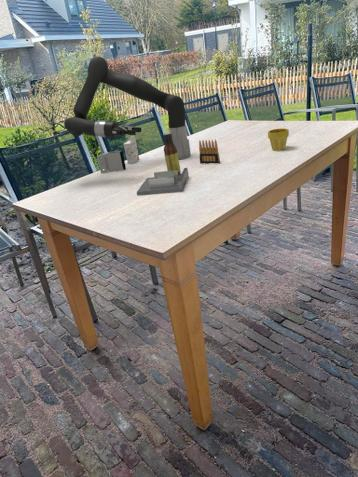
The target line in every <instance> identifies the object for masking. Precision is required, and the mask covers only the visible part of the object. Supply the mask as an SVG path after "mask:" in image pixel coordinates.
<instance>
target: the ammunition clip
mask: <svg viewBox="0 0 358 477" xmlns="http://www.w3.org/2000/svg"><path fill="white" fill-rule="evenodd" d="M198 144H199V145H198V147H199V148H198V150H199V151H198V152H199V163H200V164H204V163H205V164H209V163H219V164H220V163H221V160H220V158H221V157H220V153H219V146H218V142H217V140H216V139H214V140H213V139H211V141H210V139H208V140H207V139H205V141H204V139H202V141H201V140H200V139H199V140H198ZM205 164H204V165H205ZM209 165H210V164H209Z"/></svg>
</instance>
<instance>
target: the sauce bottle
mask: <svg viewBox="0 0 358 477" xmlns="http://www.w3.org/2000/svg"><path fill="white" fill-rule="evenodd" d="M162 136H163V140H164V141H163V142H164V146H163V153H164V159H165V166H166V169H167V170H166V171H171V170H177V171H178V175H181V174H182V172H181V165H180V159H178V153H177V149H176V147H175V146H174V144H173V141H172V134H171V133H170V132H165V133H163V134H162Z"/></svg>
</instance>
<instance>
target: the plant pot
mask: <svg viewBox="0 0 358 477" xmlns="http://www.w3.org/2000/svg"><path fill="white" fill-rule="evenodd" d="M289 133H290V132H289V128H284V127H283V128H282V127H281V128H273V129H271V130H268V131H267V138H268V139H269V141H270V146H271V147H270V148H271V150H272V149H273V150H272V151H274V150H280V151H283V150H282V149H284V150H285V149H286V146H287V141H288V138H289V135H290V134H289Z"/></svg>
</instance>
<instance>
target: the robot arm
mask: <svg viewBox="0 0 358 477" xmlns="http://www.w3.org/2000/svg"><path fill="white" fill-rule="evenodd" d="M86 72H87V76H86V78H85V81H84V84H83V86H82V89H81V90H80V92H79V94H78V97H77V99H76V102H75V103H74V106H73V108H72V113H73V115H74V116H71V117H67V118H66V119H65V120H64V128H65V129H66V130H67V132H69V134H70V135H72V136H73V137H80V136H81V135H82V134H84V135H86V136H90V137H91V136H93V137H100V138H112V139H113V138H114V139H115V138H117V137H118V136H123V137H124V136H133V135H134V136H136V135H137V134H136V133H142V127H140V126H139V127H138V126H137V127H135V126H134V125H124V124H122V125H118V124H117V122H116V121H114V120H113V121H112V120H87V119H88V118H87V117H88V114H89V112H90V109H91V107H92V105H93V101H94V98H95V96H96V92H97V90H98V88H99V86H100V83H102V84H105V85H107V86H110V87H113V88H115V89H117V90H119V91H122V92H124V93H126V94H128V95H130V96H132V97H134V98H136V99H139V100H141V101H144V102H148V103H151V104H155V105H156V106H159V107H160V108H162V109H164V111H167V117H168V124H167V125H168V131H169V132H168V133H171V134H172V141H173V144H174V146H175V147H176V149H177V153H178V159H179V160H184V159H188V158H189V157H192V155H191V147H190V139H189V138H188V134H187V128H186V110H185V109H186V108H185V103H184V100H183V98H181V96H179V95H177V94H176V95H174V94H170V93H168V92H164V91H162V90H160V89H158V88H157V87H156V86H154V85H152V84H151V83H150V82H147V81H146V80H144V79H141V78H139V77H138V76H134V75H131V74H125V73H120V72H116V71H114V70H112V69H110V68H109V64H108V62H107V60H106V59H105V58H104V57H102V56H98V55H97V56H94V57H93V58H91V59H90V61H89V63H88V65H87V71H86Z"/></svg>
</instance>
